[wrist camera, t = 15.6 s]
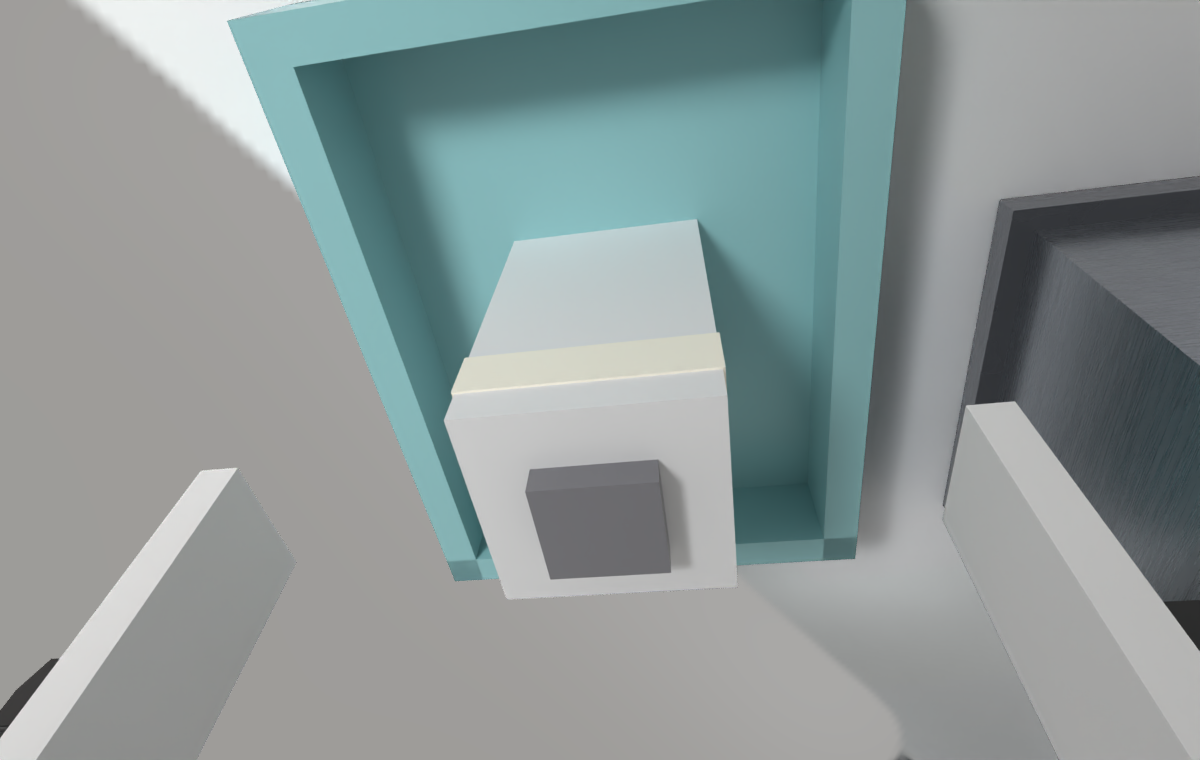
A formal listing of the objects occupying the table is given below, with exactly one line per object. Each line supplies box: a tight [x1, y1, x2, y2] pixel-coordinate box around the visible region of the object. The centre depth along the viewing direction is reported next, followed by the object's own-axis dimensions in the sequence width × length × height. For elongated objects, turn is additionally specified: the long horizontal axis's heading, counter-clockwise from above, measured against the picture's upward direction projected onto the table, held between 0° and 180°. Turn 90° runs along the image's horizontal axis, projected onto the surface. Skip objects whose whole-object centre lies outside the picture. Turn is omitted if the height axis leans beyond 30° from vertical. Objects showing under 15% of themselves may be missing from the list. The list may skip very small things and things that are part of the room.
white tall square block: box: [444, 219, 738, 600], centre depth 16 cm, size 5×5×9 cm
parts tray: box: [227, 0, 907, 581], centre depth 19 cm, size 17×13×3 cm
